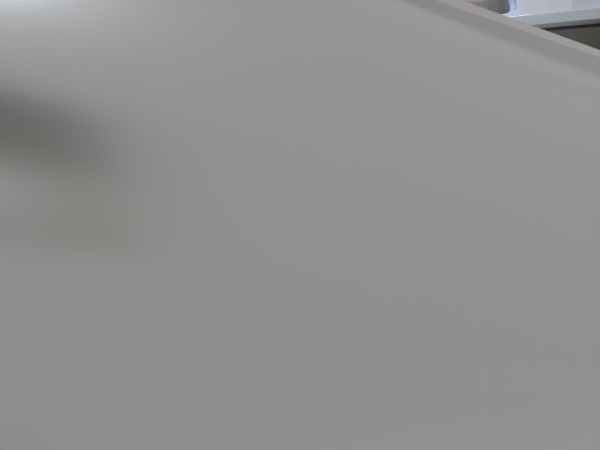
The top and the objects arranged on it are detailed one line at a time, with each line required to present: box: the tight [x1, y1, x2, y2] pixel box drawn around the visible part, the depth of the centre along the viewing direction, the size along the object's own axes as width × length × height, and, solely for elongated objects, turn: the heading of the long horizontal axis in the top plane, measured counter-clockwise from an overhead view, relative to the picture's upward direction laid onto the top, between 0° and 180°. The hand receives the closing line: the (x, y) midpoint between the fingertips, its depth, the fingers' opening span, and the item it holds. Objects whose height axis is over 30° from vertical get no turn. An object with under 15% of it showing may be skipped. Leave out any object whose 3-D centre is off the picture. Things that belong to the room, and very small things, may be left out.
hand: (421, 336), depth 52 cm, fingers open, 13 cm apart
